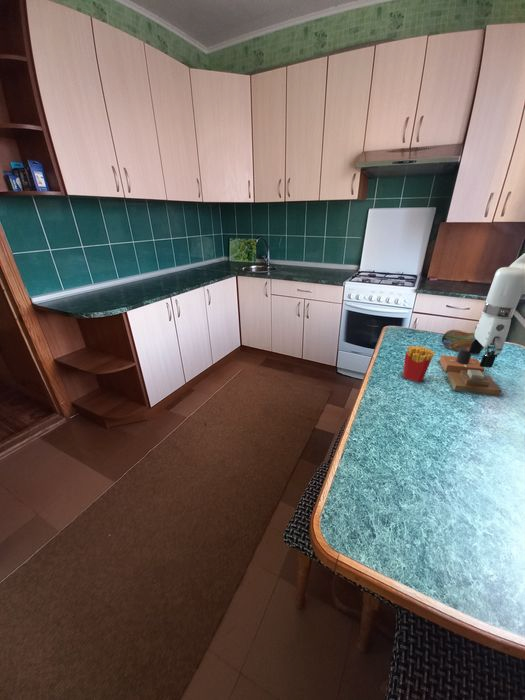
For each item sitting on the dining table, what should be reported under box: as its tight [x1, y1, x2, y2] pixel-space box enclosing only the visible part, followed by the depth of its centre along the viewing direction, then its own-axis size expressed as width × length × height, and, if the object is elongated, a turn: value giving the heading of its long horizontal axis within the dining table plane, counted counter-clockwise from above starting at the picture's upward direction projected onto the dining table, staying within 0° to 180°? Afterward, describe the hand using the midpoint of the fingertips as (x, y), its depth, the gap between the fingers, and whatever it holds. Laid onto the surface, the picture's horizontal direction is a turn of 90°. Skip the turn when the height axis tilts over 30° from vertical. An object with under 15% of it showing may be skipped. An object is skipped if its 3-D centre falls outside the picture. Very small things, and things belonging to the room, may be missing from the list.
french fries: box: [402, 345, 435, 383], centre depth 102 cm, size 8×4×12 cm, turn 54°
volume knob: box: [456, 347, 473, 364], centre depth 107 cm, size 4×4×6 cm
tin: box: [441, 329, 485, 352], centre depth 121 cm, size 15×3×8 cm, turn 55°
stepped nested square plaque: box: [446, 370, 502, 397], centre depth 98 cm, size 13×9×4 cm
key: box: [467, 370, 485, 380], centre depth 97 cm, size 4×4×2 cm
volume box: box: [439, 354, 486, 374], centre depth 109 cm, size 12×8×3 cm
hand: (479, 359), depth 95 cm, fingers open, 9 cm apart
